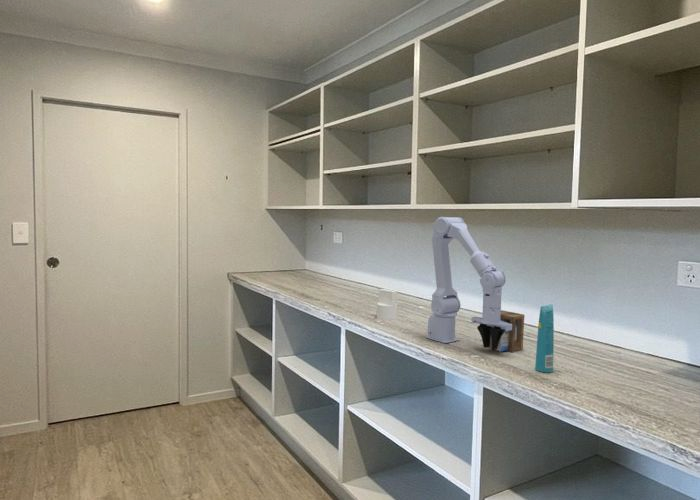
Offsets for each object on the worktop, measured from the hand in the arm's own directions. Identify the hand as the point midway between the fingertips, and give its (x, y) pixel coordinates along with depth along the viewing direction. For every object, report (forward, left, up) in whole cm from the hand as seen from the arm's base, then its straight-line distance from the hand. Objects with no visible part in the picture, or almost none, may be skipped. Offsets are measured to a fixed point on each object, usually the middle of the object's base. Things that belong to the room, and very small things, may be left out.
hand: (490, 348), depth 161 cm
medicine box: (+1, +6, -1) cm, 7 cm away
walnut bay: (0, +9, -1) cm, 9 cm away
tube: (+21, -3, -2) cm, 21 cm away
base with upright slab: (-59, +9, -2) cm, 60 cm away
